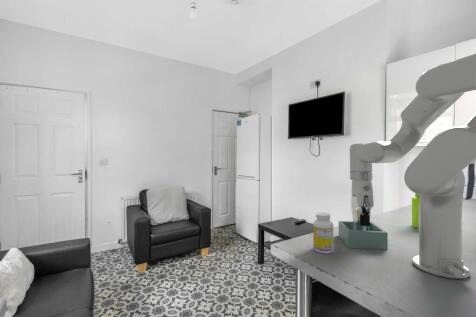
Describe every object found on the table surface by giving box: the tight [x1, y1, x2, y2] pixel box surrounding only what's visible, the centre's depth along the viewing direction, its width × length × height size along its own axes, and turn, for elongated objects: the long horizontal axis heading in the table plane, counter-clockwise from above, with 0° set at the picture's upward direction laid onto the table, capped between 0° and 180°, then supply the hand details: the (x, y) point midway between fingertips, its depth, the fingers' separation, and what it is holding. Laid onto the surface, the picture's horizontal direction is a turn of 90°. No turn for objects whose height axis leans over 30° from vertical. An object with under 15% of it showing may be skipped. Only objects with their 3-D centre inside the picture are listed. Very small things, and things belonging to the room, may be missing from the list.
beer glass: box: [350, 194, 373, 231], centre depth 89 cm, size 7×7×15 cm
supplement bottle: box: [312, 212, 335, 255], centre depth 82 cm, size 7×7×13 cm
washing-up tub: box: [338, 220, 389, 251], centre depth 89 cm, size 13×13×6 cm
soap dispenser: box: [411, 193, 420, 229], centre depth 107 cm, size 6×7×20 cm
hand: (361, 222), depth 89 cm, fingers closed on beer glass, 6 cm apart
